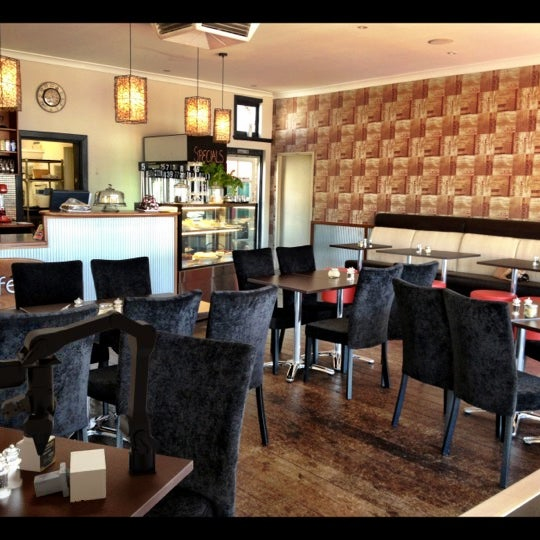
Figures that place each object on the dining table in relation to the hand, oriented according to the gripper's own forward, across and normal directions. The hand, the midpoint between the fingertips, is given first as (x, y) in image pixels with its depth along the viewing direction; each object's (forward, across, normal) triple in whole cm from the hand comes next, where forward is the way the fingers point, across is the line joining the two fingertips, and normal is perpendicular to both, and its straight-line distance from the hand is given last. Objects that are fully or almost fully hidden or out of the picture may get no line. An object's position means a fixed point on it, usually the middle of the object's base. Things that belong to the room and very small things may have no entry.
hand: (41, 447), depth 138 cm
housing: (+12, 0, +10) cm, 16 cm away
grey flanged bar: (+12, 0, +6) cm, 13 cm away
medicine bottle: (+12, -17, -3) cm, 21 cm away
